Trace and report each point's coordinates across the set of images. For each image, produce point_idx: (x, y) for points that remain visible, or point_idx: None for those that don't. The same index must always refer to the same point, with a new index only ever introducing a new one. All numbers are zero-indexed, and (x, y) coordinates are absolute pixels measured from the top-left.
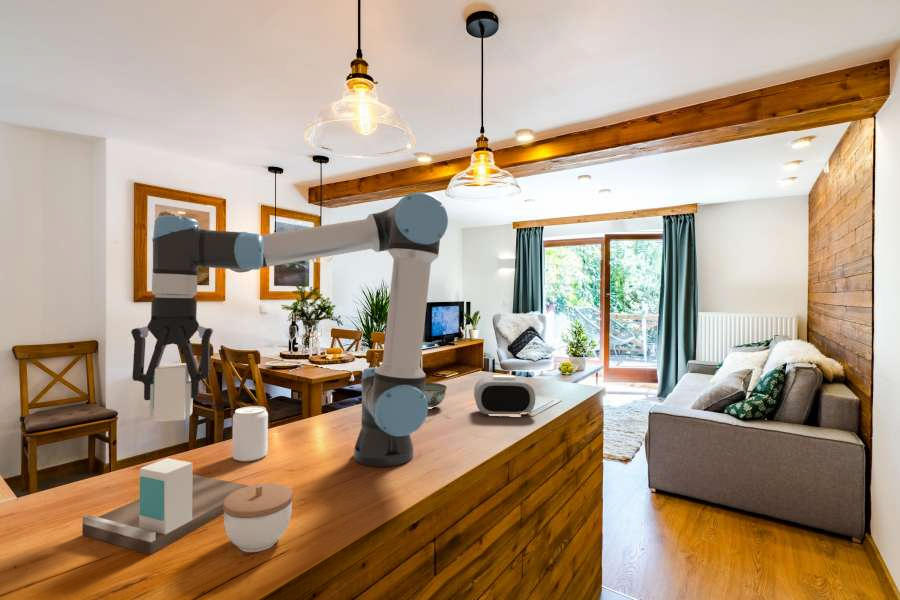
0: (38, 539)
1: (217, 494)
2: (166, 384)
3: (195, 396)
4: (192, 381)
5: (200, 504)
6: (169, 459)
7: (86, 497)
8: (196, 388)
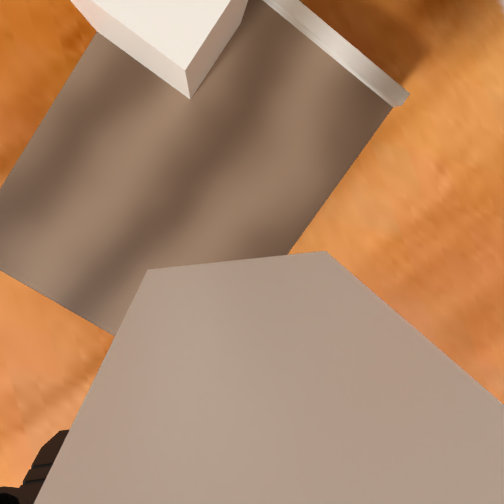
0: (479, 107)
1: (74, 211)
2: (314, 376)
3: (64, 436)
4: None
5: (106, 144)
6: (167, 45)
7: (455, 332)
8: (29, 497)
